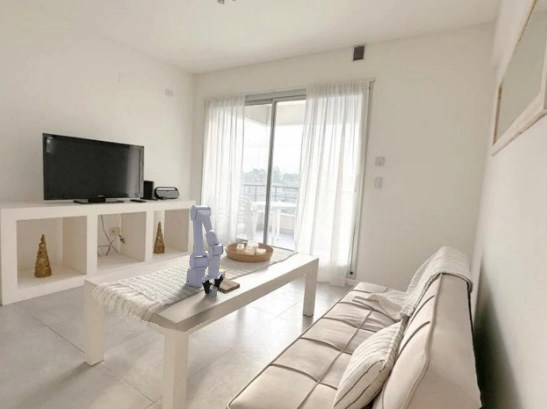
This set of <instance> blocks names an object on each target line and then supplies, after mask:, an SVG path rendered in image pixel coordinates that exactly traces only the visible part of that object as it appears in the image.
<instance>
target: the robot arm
mask: <svg viewBox="0 0 547 409" xmlns="http://www.w3.org/2000/svg"><path fill="white" fill-rule="evenodd" d="M189 214H190V216H189V217H190V221H192V230H193V233H192V234H193V246H194V247H193V248H194V251H193V252H192V253H191V254H190V255H189V262H188V265H189V266H188V269H187V271H186V278H185V280H186V281H185V283H184V284H185V285H188V286H192V287H196V288H197V287H198V288H202V287H203V289H204V294H205V295H206V294H207V295H206V296H208V294H209V291H210V286H211V284H212V283H211V282H212V281H211V280H213V282H214V286H215V287H217V292H218V291H219V290H218V289H219V287H220V284H221V282H222V281H223V279H224V278H225V277H222V276H224V272H222V271H221V272H219V269H221V268H220V266H221V258H222V257H221V256H222V255H223V254H224V250H225V249H224V245H223V244H222V243H221V241H219V238H218V234H217V232H216V231H215V230H214V229H213V225H212V220H211V216H212V208H211V206H210V204H209V205H192V206H191V207H190V209H189ZM203 227H204V231H205V234H204V231H203ZM204 236H205V239H206V243H207V246H208V247H207V252H206V251H205V248H204ZM206 270H207V274H206ZM210 281H211V282H210Z"/></svg>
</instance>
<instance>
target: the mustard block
mask: <svg viewBox="0 0 547 409" xmlns="http://www.w3.org/2000/svg"><path fill="white" fill-rule="evenodd" d="M221 271H222V272H224V276H222V277H223V278H226V270H225V269H223V268H219V272H221Z"/></svg>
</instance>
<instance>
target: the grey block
mask: <svg viewBox="0 0 547 409" xmlns="http://www.w3.org/2000/svg"><path fill="white" fill-rule="evenodd" d="M205 295H206V296H208V297H210V298H212V297H215V296H217V295H218V291H217V287H215V286H213V285H211V286H210V291H209V294H208V295H207V294H205Z"/></svg>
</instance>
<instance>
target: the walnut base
mask: <svg viewBox="0 0 547 409" xmlns="http://www.w3.org/2000/svg"><path fill="white" fill-rule="evenodd" d="M223 278H224V279H223V281H222V282H221V284H220V287H219V289H218V291H221V292H223V293H228V292H231V291H234V290H236V289H238V288H240V287H241V284H240V283H239V282H236V281H234V280H232V279H229V278H226V277H223ZM211 283H212V284H211V285H213V286H214V281H211Z"/></svg>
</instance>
